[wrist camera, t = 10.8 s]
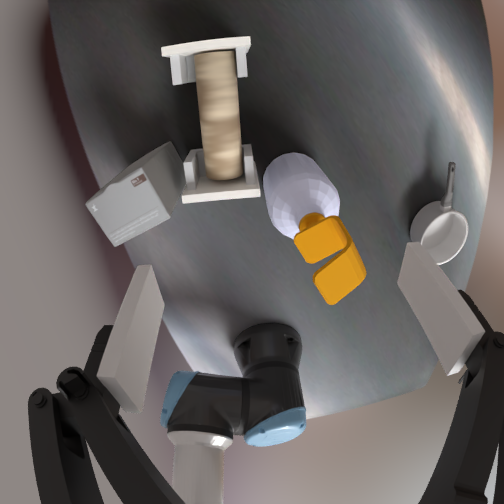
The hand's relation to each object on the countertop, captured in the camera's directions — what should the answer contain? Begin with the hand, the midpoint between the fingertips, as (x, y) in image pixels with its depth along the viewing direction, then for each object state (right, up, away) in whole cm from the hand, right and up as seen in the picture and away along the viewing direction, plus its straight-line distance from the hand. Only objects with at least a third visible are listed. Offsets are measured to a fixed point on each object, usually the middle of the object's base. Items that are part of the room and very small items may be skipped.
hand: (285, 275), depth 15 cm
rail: (-7, +18, +19) cm, 27 cm away
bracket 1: (-7, +26, +20) cm, 34 cm away
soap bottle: (+4, +12, +30) cm, 33 cm away
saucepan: (+32, +10, +33) cm, 47 cm away
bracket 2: (-6, +15, +27) cm, 32 cm away
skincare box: (-16, +14, +28) cm, 35 cm away
